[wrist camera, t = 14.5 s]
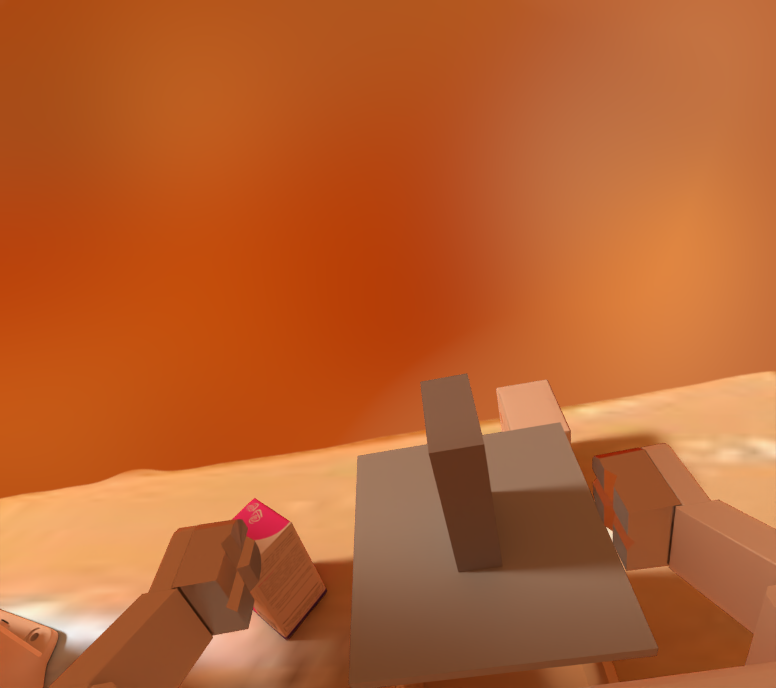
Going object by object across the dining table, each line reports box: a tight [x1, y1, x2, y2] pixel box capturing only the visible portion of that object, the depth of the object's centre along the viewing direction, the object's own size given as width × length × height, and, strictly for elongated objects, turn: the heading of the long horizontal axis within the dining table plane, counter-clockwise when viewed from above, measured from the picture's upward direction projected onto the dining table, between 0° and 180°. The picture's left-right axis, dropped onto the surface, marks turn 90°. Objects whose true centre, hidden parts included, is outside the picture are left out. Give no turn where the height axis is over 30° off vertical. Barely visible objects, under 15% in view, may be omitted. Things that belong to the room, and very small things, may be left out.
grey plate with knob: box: [349, 374, 658, 688], centre depth 27 cm, size 15×15×11 cm
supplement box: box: [232, 498, 327, 640], centre depth 46 cm, size 6×6×11 cm
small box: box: [496, 380, 571, 446], centre depth 52 cm, size 8×6×10 cm
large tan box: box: [395, 661, 619, 688], centre depth 38 cm, size 14×14×10 cm
